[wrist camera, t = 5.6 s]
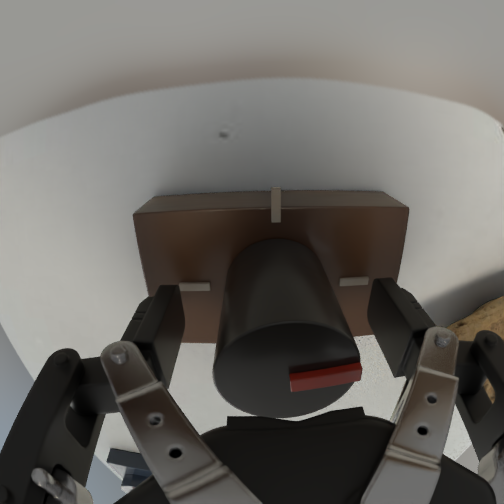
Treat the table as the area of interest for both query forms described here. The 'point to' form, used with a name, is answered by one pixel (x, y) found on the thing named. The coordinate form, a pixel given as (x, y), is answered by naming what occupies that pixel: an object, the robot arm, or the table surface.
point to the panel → (263, 228)
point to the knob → (282, 334)
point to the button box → (129, 468)
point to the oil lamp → (482, 328)
